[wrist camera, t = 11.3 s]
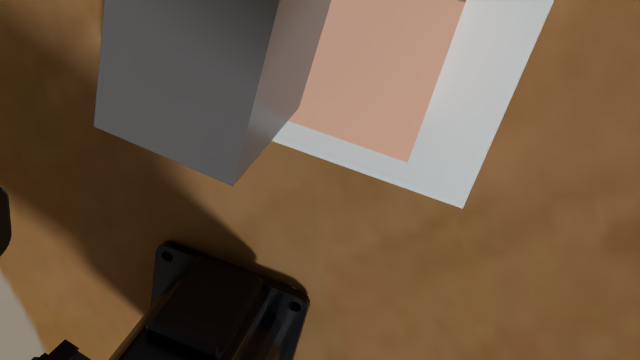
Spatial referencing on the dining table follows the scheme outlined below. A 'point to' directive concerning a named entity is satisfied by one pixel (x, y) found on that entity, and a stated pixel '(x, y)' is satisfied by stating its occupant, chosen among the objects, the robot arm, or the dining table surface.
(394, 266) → the dining table surface
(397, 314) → the dining table surface
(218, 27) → the frame bar
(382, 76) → the display stand
